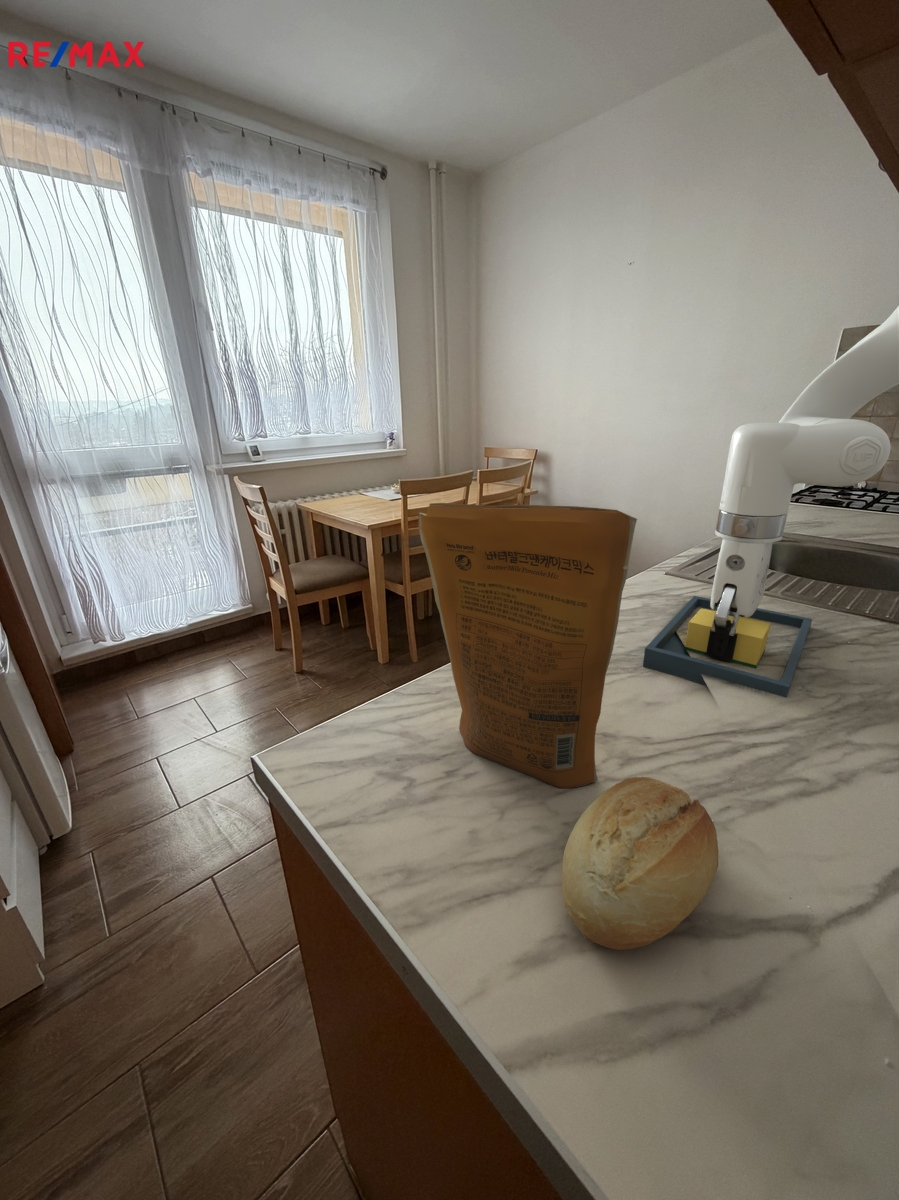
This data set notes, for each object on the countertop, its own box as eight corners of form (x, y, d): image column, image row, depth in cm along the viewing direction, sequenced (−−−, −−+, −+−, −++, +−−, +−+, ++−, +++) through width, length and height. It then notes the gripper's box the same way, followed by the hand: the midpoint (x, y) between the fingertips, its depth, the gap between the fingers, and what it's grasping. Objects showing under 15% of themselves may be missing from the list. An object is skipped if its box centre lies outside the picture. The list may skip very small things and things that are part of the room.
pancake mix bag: (596, 818, 44) (625, 517, 34) (428, 747, 54) (411, 499, 44) (617, 773, 49) (648, 500, 39) (460, 716, 60) (451, 487, 49)
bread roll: (734, 858, 40) (753, 783, 37) (658, 1010, 30) (676, 925, 27) (624, 798, 46) (633, 730, 43) (532, 909, 37) (535, 831, 34)
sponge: (695, 637, 74) (701, 608, 72) (763, 654, 69) (771, 622, 67) (683, 652, 70) (688, 621, 68) (754, 672, 64) (762, 638, 63)
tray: (691, 611, 86) (694, 595, 85) (807, 636, 75) (812, 618, 74) (642, 666, 69) (644, 647, 68) (783, 708, 59) (789, 687, 57)
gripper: (771, 544, 54) (740, 683, 61) (794, 515, 66) (766, 633, 73) (699, 535, 58) (678, 665, 65) (732, 509, 70) (712, 621, 77)
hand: (725, 647), depth 69 cm, fingers closed on sponge, 6 cm apart
